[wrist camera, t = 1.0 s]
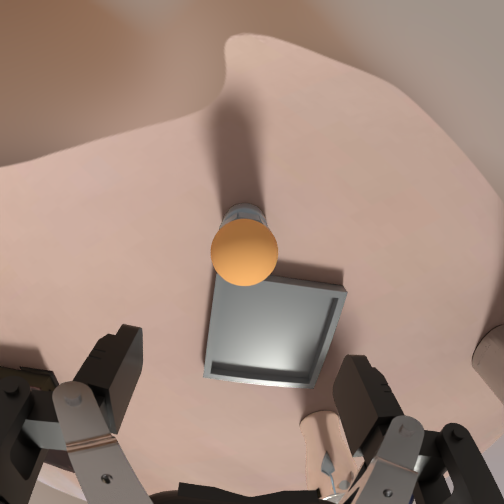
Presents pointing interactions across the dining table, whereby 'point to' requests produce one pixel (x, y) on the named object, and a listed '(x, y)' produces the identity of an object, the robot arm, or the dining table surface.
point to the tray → (272, 331)
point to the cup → (244, 214)
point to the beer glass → (327, 456)
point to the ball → (244, 252)
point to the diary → (42, 382)
